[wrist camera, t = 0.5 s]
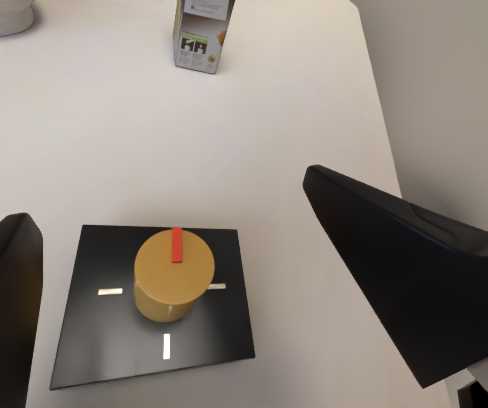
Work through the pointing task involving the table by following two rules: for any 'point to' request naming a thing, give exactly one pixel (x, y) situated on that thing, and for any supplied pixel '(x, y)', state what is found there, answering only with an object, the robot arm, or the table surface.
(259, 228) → the table surface
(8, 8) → the flag stand
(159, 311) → the handle
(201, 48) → the coffee box
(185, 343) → the black flat block
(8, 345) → the robot arm
